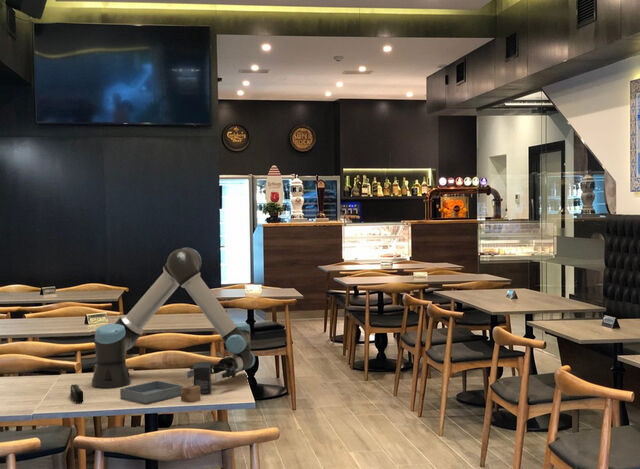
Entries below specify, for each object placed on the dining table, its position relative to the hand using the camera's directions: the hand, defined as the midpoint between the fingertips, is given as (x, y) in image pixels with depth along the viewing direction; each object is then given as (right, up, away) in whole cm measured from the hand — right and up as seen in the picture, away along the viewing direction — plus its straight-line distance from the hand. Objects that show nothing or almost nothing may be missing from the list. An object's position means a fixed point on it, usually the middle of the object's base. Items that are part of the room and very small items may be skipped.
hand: (201, 376), depth 291 cm
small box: (0, -6, +2) cm, 7 cm away
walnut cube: (-2, -7, -12) cm, 14 cm away
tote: (-17, -6, -6) cm, 20 cm away
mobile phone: (-45, -7, -8) cm, 47 cm away
